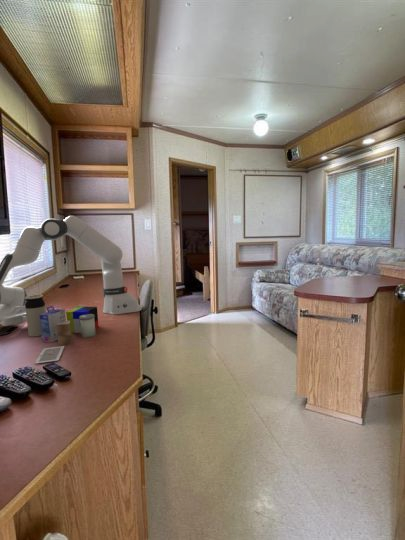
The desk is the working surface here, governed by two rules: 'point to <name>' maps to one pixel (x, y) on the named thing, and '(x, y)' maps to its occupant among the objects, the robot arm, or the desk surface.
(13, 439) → the desk surface
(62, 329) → the brown cylindrical container
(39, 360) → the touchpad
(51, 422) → the desk surface
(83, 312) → the puzzle toy
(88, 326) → the sage canister
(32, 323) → the travel mug
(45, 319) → the ink cartridge box
